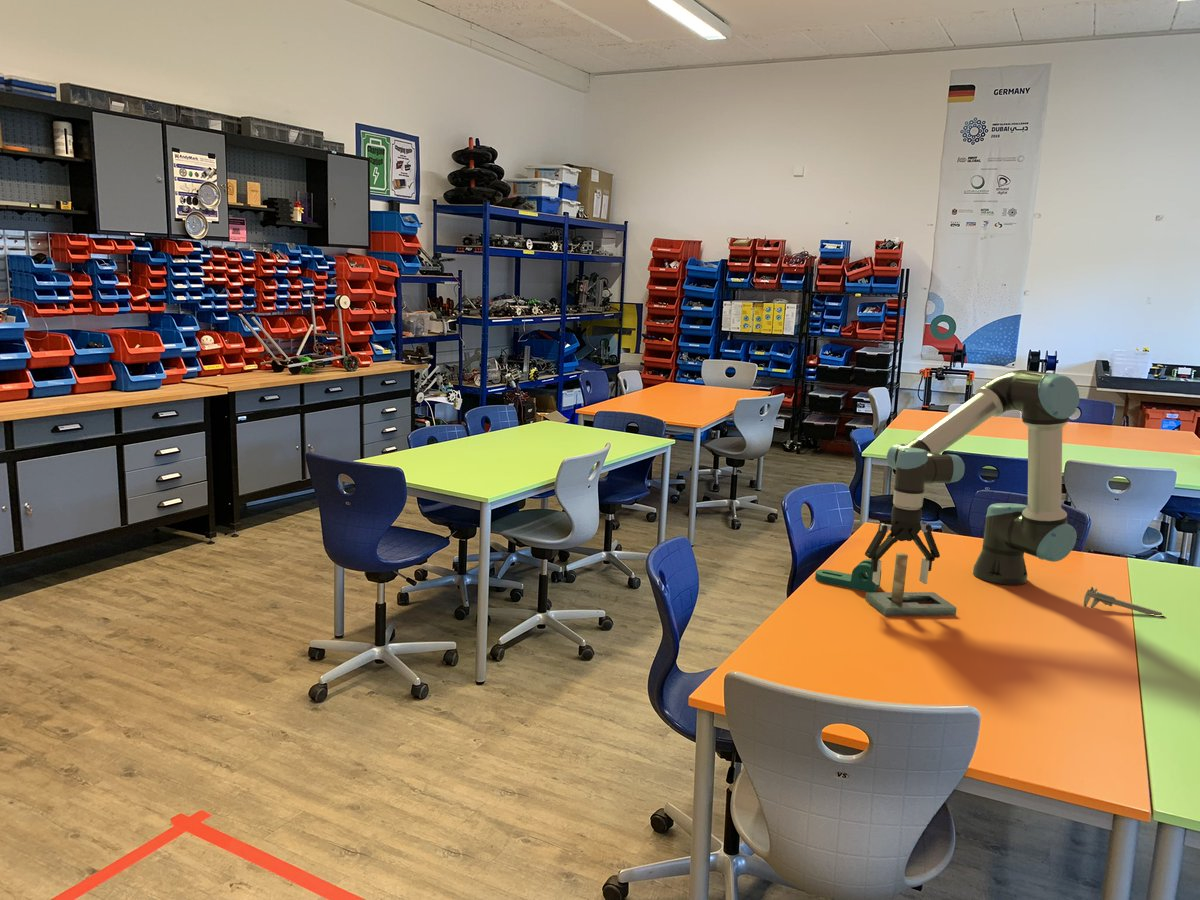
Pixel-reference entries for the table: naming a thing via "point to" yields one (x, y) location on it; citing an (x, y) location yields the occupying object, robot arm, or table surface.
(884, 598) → the keyhole plate
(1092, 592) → the caliper
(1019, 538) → the robot arm
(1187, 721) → the table surface
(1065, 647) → the table surface
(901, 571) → the peg
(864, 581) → the bracket
